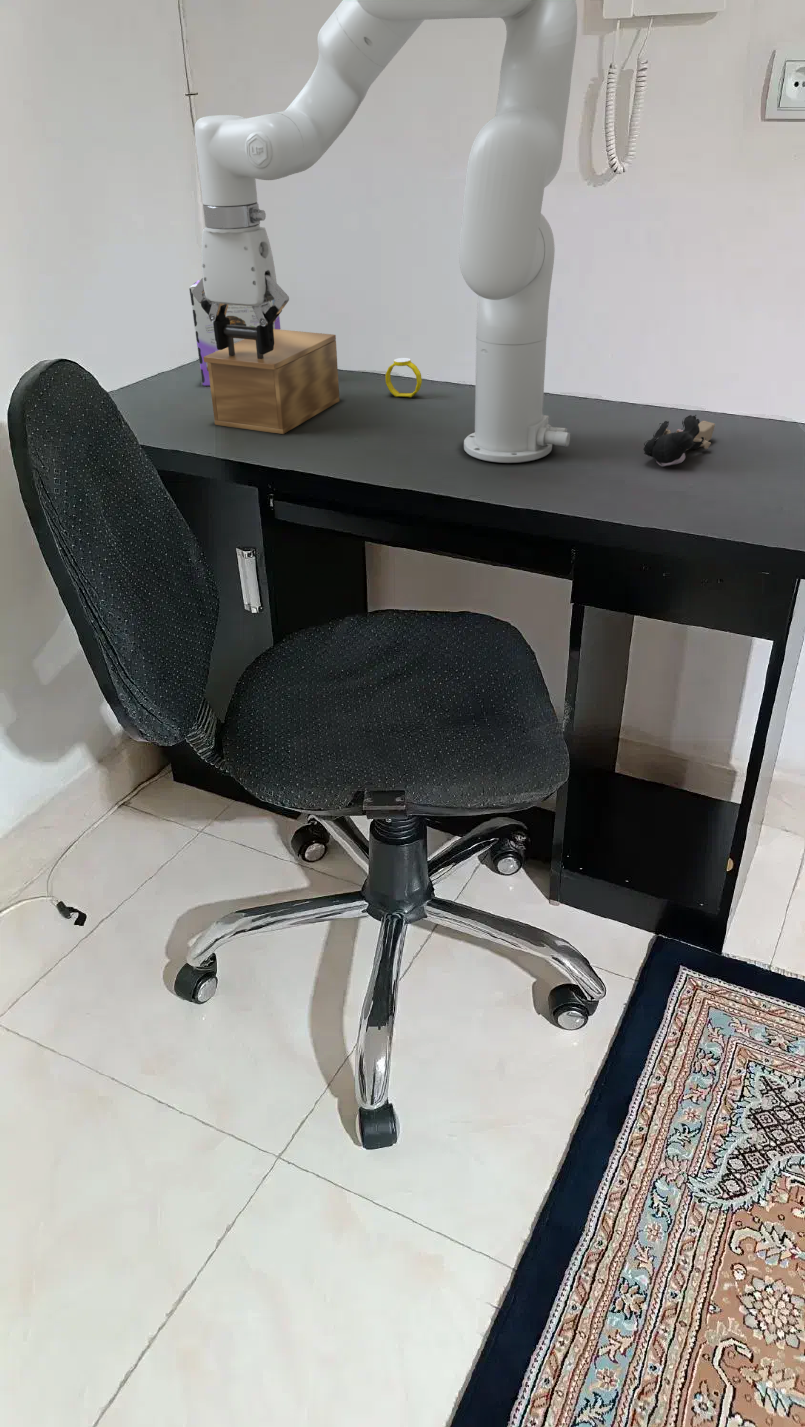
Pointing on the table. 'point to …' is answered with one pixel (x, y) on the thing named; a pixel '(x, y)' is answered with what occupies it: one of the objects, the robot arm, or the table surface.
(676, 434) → the toy figure
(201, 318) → the candy box
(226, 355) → the chest lid
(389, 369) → the watch
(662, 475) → the table surface
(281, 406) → the chest
